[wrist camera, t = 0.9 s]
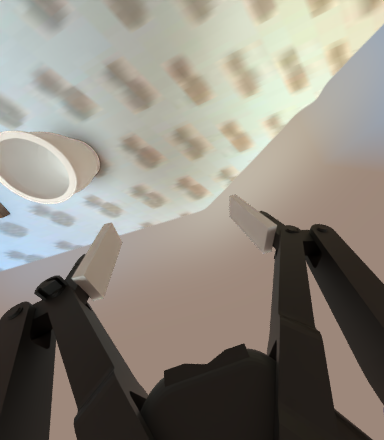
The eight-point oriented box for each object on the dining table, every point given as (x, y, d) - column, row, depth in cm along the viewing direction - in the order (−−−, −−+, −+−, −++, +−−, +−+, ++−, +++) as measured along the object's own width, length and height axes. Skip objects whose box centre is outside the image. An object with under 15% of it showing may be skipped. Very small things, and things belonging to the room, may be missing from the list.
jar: (114, 166, 36) (91, 181, 23) (84, 189, 37) (46, 215, 24) (75, 122, 30) (16, 111, 18) (41, 151, 31) (-38, 160, 19)
